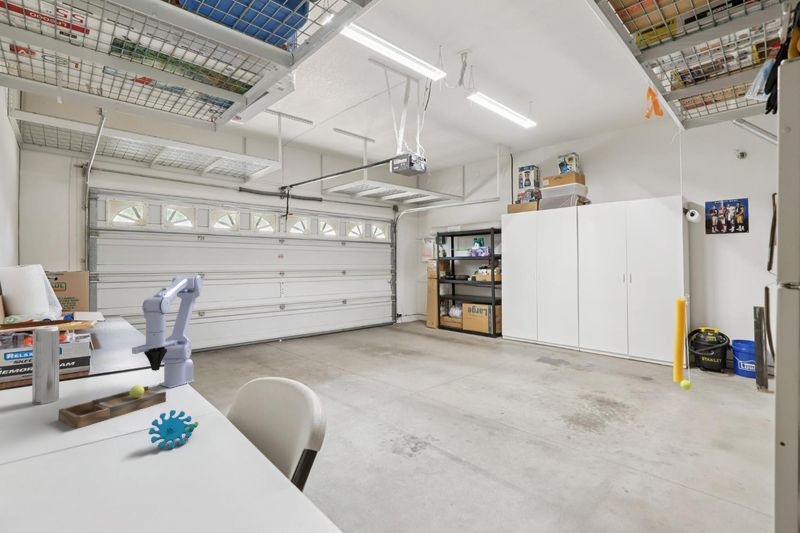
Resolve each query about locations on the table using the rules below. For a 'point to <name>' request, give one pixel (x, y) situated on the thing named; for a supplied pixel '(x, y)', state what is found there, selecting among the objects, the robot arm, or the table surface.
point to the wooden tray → (108, 407)
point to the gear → (172, 429)
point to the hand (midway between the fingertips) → (155, 370)
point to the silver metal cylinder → (45, 365)
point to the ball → (136, 391)
